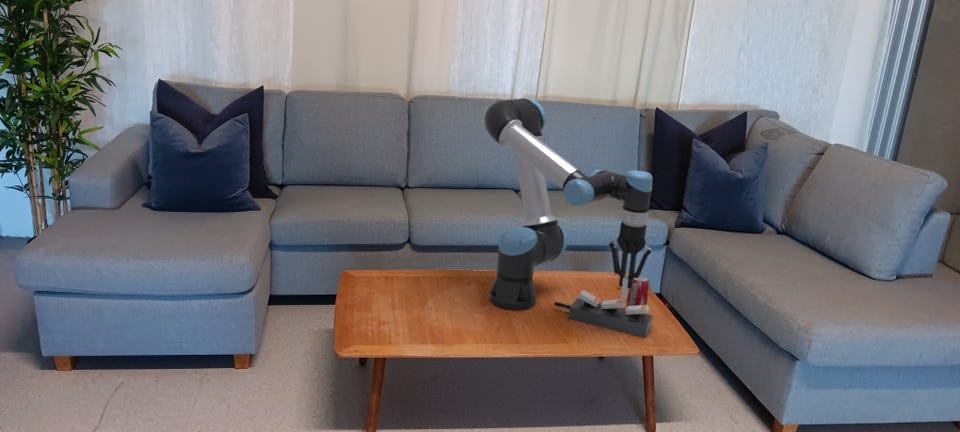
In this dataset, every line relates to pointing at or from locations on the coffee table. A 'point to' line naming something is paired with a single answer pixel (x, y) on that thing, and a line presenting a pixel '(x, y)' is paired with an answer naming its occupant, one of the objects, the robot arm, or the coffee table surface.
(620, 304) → the block
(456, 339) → the coffee table surface
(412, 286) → the coffee table surface
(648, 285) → the beverage can
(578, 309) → the power strip
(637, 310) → the block
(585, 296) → the block
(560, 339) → the coffee table surface
